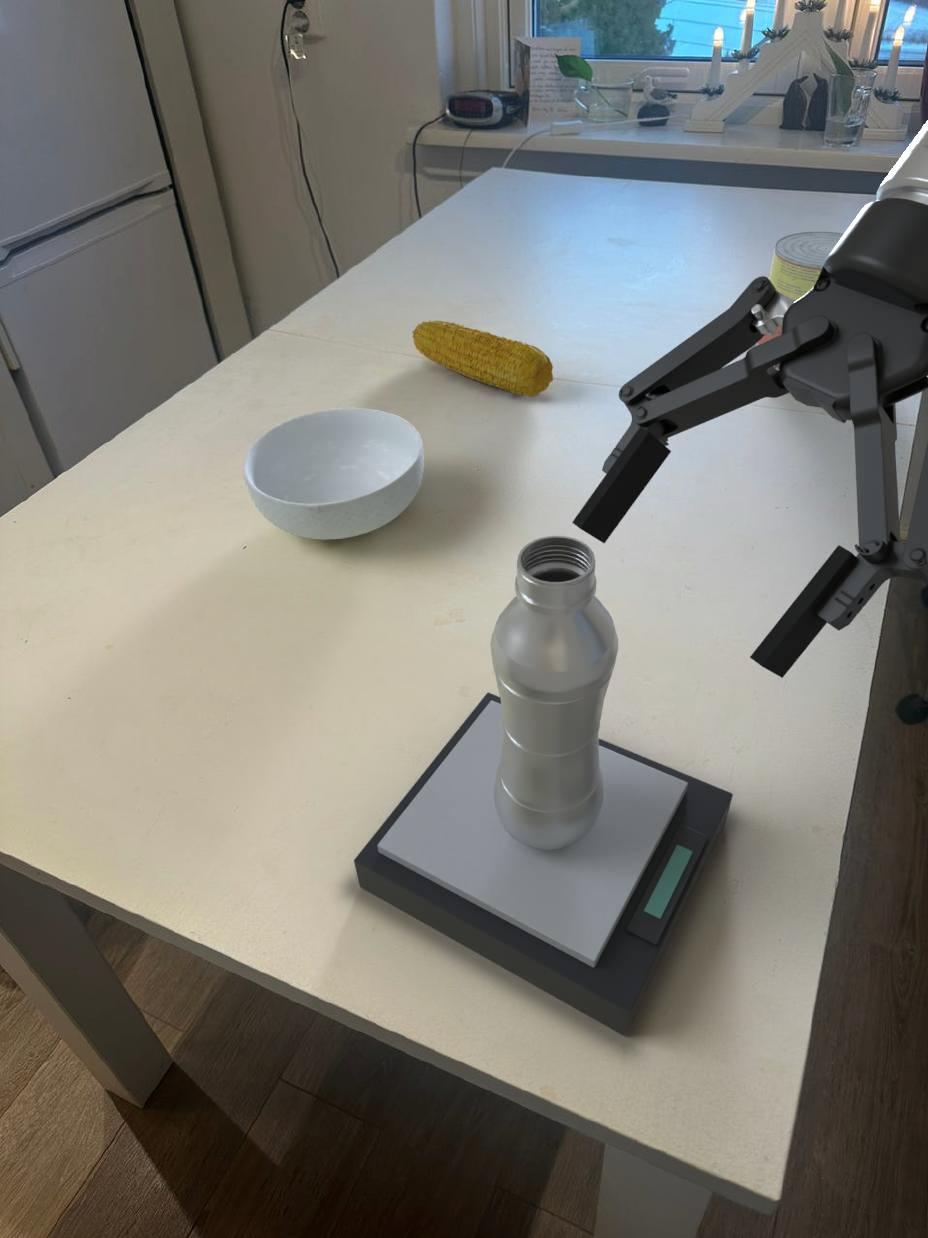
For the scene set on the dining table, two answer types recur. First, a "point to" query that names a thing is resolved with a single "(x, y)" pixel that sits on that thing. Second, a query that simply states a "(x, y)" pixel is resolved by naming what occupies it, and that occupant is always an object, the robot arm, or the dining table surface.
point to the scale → (550, 870)
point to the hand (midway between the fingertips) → (668, 594)
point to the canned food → (799, 265)
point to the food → (485, 357)
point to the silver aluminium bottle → (552, 694)
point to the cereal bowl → (335, 472)
